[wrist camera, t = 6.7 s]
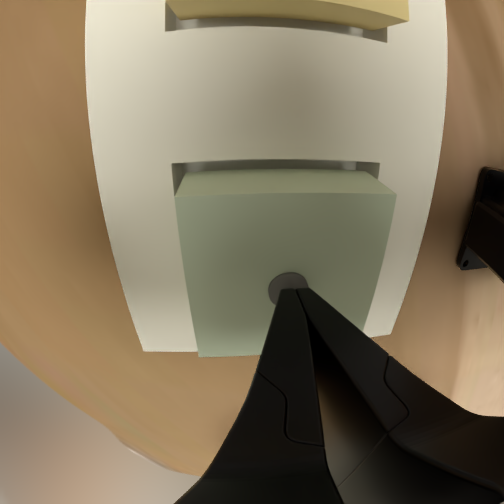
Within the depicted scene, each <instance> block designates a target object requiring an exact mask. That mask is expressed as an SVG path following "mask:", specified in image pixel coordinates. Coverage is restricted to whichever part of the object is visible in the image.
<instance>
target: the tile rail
mask: <svg viewBox="0 0 504 504" xmlns="http://www.w3.org/2000/svg"><path fill="white" fill-rule="evenodd" d="M408 5H409V22H405V23H400V24H396V25H392V26H389V27H385V28H381V29H378V30H374V31H370V30H366V29H361V28H356V27H351V26H345V25H339V24H333V23H326V22H318V21H310V20H300V19H288V18H272V17H219V18H202V19H190V20H179V18H178V17H177V16H176V14H175V13H174V12H173V10H172V9H171V8H170V7H169V5H168V4H167V3H166V1H165V0H87V3H86V23H85V68H86V89H87V103H88V115H89V125H90V134H91V142H92V150H93V157H94V163H95V170H96V176H97V182H98V187H99V193H100V198H101V203H102V208H103V213H104V218H105V222H106V227H107V231H108V235H109V239H110V244H111V248H112V252H113V255H114V259H115V263H116V267H117V270H118V274H119V277H120V281H121V284H122V288H123V291H124V294H125V298H126V301H127V304H128V307H129V310H130V313H131V316H132V319H133V322H134V325H135V328H136V331H137V334H138V337H139V339H140V342H141V345H142V348H143V350H144V351H158V352H198V349H197V344H196V338H195V333H194V328H193V322H192V317H191V311H190V305H189V299H188V293H187V287H186V281H185V274H184V268H183V261H182V254H181V247H180V240H179V232H178V224H177V216H176V207H175V199H174V197H175V195H176V193H177V190H178V188H179V186H180V184H181V182H182V180H183V177H184V175H185V173H186V172H198V171H217V170H243V169H331V170H357V171H366V172H367V173H369V174H370V175H372V176H373V177H374V178H376V179H377V180H378V181H380V182H381V183H383V184H384V185H385V186H387V187H388V188H389V189H391V190H392V191H393V192H394V193H396V194H397V197H396V203H395V208H394V213H393V218H392V223H391V228H390V233H389V237H388V242H387V246H386V250H385V255H384V259H383V263H382V267H381V271H380V275H379V278H378V282H377V286H376V289H375V293H374V297H373V300H372V303H371V307H370V310H369V313H368V317H367V320H366V323H365V326H364V329H363V333H365V334H366V335H367V336H368V337H376V336H382V335H388V334H391V331H392V329H393V326H394V324H395V321H396V319H397V316H398V313H399V310H400V308H401V305H402V302H403V299H404V297H405V294H406V291H407V288H408V285H409V282H410V279H411V276H412V272H413V269H414V266H415V263H416V259H417V256H418V252H419V249H420V245H421V242H422V238H423V234H424V230H425V226H426V222H427V218H428V214H429V209H430V205H431V200H432V196H433V191H434V186H435V180H436V175H437V169H438V163H439V157H440V150H441V143H442V135H443V126H444V117H445V105H446V90H447V22H446V8H445V0H408Z"/></svg>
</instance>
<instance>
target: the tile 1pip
mask: <svg viewBox="0 0 504 504" xmlns="http://www.w3.org/2000/svg"><path fill="white" fill-rule="evenodd" d="M396 197H397V194H396V193H394V192H393V191H392V190H391V189H389V188H388V187H387V186H385V185H384V184H383V183H381V182H380V181H378V180H377V179H376V178H374V177H373V176H372V175H370V174H369V173H367V172H366V171H357V170H331V169H243V170H217V171H198V172H186V173H185V175H184V177H183V180H182V182H181V184H180V186H179V188H178V190H177V193H176V195H175V197H174V199H175V207H176V216H177V224H178V232H179V240H180V247H181V254H182V261H183V268H184V274H185V281H186V287H187V293H188V299H189V305H190V311H191V317H192V322H193V328H194V333H195V338H196V344H197V349H198V354H199V357H226V356H248V355H261V352H262V349H263V346H264V342H265V339H266V336H267V333H268V329H269V326H270V323H271V319H272V316H273V313H274V309H275V306H276V302H277V299H278V295H279V292H280V290H281V289H288V288H293V289H296V288H304V287H309V288H311V289H312V290H313V291H315V292H316V293H317V294H318V295H319V296H321V297H322V298H323V299H324V300H325V301H327V302H328V303H329V304H330V305H331V306H333V307H334V308H335V309H336V310H337V311H338V312H340V313H341V314H342V315H343V316H344V317H346V318H347V319H348V320H349V321H350V322H352V323H353V324H354V325H355V326H356V327H358V328H359V329H360V330H361V331H362V332H363V329H364V326H365V323H366V320H367V317H368V313H369V310H370V307H371V303H372V300H373V297H374V293H375V289H376V286H377V282H378V278H379V275H380V271H381V267H382V263H383V259H384V255H385V250H386V246H387V242H388V237H389V233H390V228H391V223H392V218H393V213H394V208H395V203H396Z"/></svg>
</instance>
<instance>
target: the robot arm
mask: <svg viewBox="0 0 504 504" xmlns="http://www.w3.org/2000/svg"><path fill="white" fill-rule="evenodd" d="M457 266H458V267H459V268H460V269H461V270H471V269H479V268H487V267H489V268H490V269H491V270H492V271H493V272H494V273H495V274H496V275H497V277H498V278H499V279H500V280H501V281H502V282H503V283H504V171H503V170H498V169H494V168H489V167H485V168H484V169H483V170H482V172H481V175H480V180H479V184H478V189H477V193H476V197H475V202H474V206H473V209H472V213H471V217H470V221H469V224H468V228H467V231H466V234H465V238H464V241H463V244H462V247H461V250H460V253H459V256H458V259H457ZM174 504H504V417H496V416H482V415H477V414H474V413H471V412H469V411H467V410H465V409H464V408H462V407H460V406H459V405H457V404H456V403H454V402H453V401H451V400H450V399H448V398H447V397H446V396H444V395H443V394H441V393H440V392H438V391H437V390H435V389H434V388H432V387H431V386H429V385H428V384H427V383H425V382H424V381H422V380H421V379H420V378H418V377H417V376H415V375H414V374H413V373H412V372H410V371H409V370H408V369H407V368H405V367H404V366H403V365H402V364H400V363H399V362H398V361H397V360H396V359H394V358H393V357H392V356H389V354H388V353H387V352H386V351H385V350H384V349H382V348H381V347H380V346H379V345H378V344H377V343H375V342H374V341H373V340H372V339H371V338H369V337H368V336H367V335H366V334H365V333H363V332H362V331H361V330H360V329H359V328H358V327H356V326H355V325H354V324H353V323H352V322H350V321H349V320H348V319H347V318H346V317H344V316H343V315H342V314H341V313H340V312H338V311H337V310H336V309H335V308H334V307H333V306H331V305H330V304H329V303H328V302H327V301H325V300H324V299H323V298H322V297H321V296H319V295H318V294H317V293H316V292H315V291H313V290H312V289H311V288H309V287H304V288H296V289H293V288H288V289H281V290H280V292H279V295H278V299H277V302H276V306H275V309H274V313H273V316H272V319H271V323H270V326H269V329H268V333H267V336H266V339H265V342H264V346H263V349H262V352H261V355H260V359H259V362H258V365H257V368H256V372H255V374H254V377H253V380H252V383H251V386H250V389H249V392H248V394H247V397H246V400H245V402H244V404H243V406H242V408H241V410H240V412H239V414H238V417H237V419H236V420H235V422H234V424H233V426H232V428H231V430H230V431H229V433H228V435H227V437H226V439H225V440H224V442H223V444H222V446H221V448H220V449H219V451H218V453H217V455H216V456H215V458H214V460H213V461H212V463H211V464H210V466H209V467H208V469H207V470H206V471H205V473H204V474H203V475H202V477H201V478H200V479H199V480H198V481H197V482H196V483H195V484H194V485H193V486H192V487H191V488H190V489H189V490H188V491H187V492H186V493H185V494H184V495H183V496H182V497H180V498H179V499H178V500H177V501H176V502H175V503H174Z"/></svg>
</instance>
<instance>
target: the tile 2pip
mask: <svg viewBox="0 0 504 504" xmlns="http://www.w3.org/2000/svg"><path fill="white" fill-rule="evenodd" d="M165 1H166V3H167V4H168V5H169V7H170V8H171V9H172V10H173V12H174V13H175V14H176V16H177V17H178V18H179V20H190V19H202V18H219V17H272V18H288V19H300V20H310V21H318V22H326V23H333V24H339V25H345V26H351V27H356V28H361V29H366V30H370V31H374V30H378V29H381V28H385V27H389V26H392V25H396V24H400V23H405V22H409V5H408V0H165Z"/></svg>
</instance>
